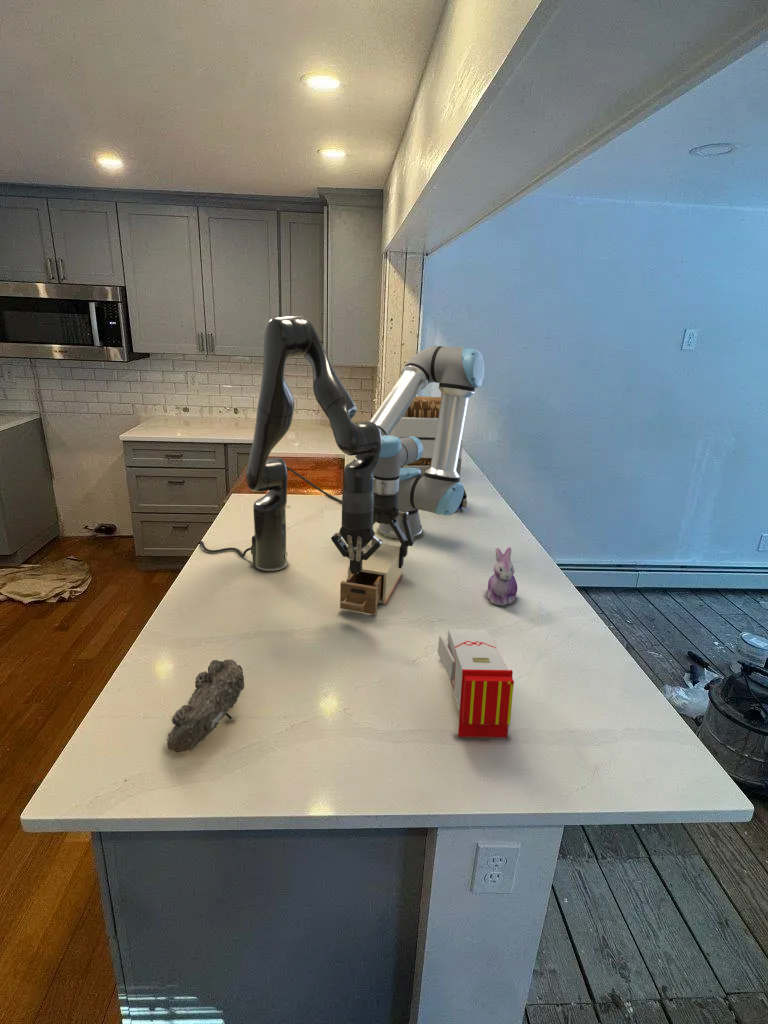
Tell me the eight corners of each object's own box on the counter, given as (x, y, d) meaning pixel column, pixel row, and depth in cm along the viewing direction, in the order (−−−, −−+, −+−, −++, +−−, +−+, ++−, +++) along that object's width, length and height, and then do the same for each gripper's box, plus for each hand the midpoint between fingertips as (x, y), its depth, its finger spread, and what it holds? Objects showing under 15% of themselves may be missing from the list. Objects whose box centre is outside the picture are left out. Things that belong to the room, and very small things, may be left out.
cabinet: (385, 604, 152) (386, 573, 149) (347, 597, 155) (348, 566, 152) (401, 575, 169) (403, 546, 166) (366, 569, 172) (367, 541, 168)
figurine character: (467, 516, 223) (461, 500, 237) (469, 499, 220) (463, 483, 233) (450, 516, 223) (446, 499, 236) (452, 498, 220) (447, 483, 233)
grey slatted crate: (382, 463, 289) (386, 382, 275) (445, 464, 293) (451, 384, 279) (390, 482, 257) (394, 392, 243) (460, 483, 261) (468, 394, 247)
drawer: (369, 625, 140) (370, 598, 138) (332, 618, 142) (333, 592, 140) (392, 585, 161) (393, 561, 158) (360, 579, 163) (360, 556, 160)
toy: (488, 613, 130) (523, 677, 101) (484, 667, 133) (517, 744, 104) (435, 612, 130) (455, 676, 101) (432, 666, 133) (451, 743, 103)
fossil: (192, 660, 117) (244, 628, 112) (224, 691, 120) (276, 661, 115) (142, 746, 98) (202, 712, 93) (182, 779, 101) (242, 748, 96)
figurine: (499, 610, 151) (506, 558, 146) (476, 593, 160) (482, 544, 155) (527, 603, 156) (534, 553, 151) (503, 587, 164) (509, 539, 159)
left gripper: (325, 508, 132) (325, 575, 138) (380, 515, 129) (377, 583, 135) (336, 498, 139) (335, 563, 145) (388, 505, 136) (385, 570, 142)
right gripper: (341, 490, 158) (340, 562, 165) (423, 500, 152) (418, 574, 160) (350, 483, 165) (348, 552, 172) (428, 492, 159) (423, 564, 167)
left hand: (355, 573), depth 140 cm, fingers closed
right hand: (381, 563), depth 166 cm, fingers closed on cabinet, 11 cm apart
